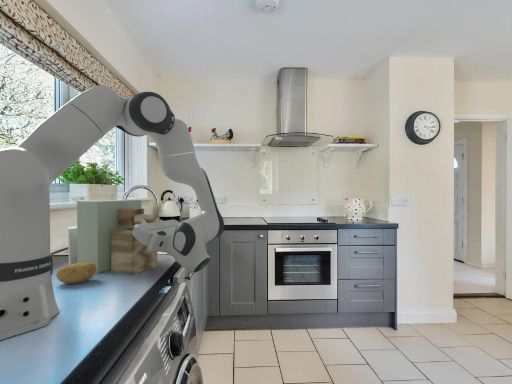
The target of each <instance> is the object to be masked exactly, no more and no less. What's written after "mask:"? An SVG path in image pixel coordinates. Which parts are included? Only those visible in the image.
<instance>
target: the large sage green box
mask: <svg viewBox="0 0 512 384" xmlns="http://www.w3.org/2000/svg"><path fill="white" fill-rule="evenodd" d="M142 202H143V201H142V199H107V200H103V199H101V200H78V201H76V226H77V263H89V262H90V263H94V264H95V266H96V274H99V273H104V272H106V271H110V270H111V231H112V230H120V229H127V228H134V227H135V225H132V226H129V225H118V209H128V208H138V209H143V208H142V206H143V205H142Z"/></svg>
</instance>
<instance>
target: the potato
mask: <svg viewBox="0 0 512 384" xmlns="http://www.w3.org/2000/svg"><path fill="white" fill-rule="evenodd" d="M96 274H97V273H96V266H95V264H94V263H90V262H89V263H76V264H72V265H69V264H68V265H64V266H62V267H61V268H59V269H58V270H57V271H56V274H55V275H56V278H57V279H58V280H59V281H60V282H61V283H63V284H69V285H70V284H71V285H72V284H79V283H82V282H86V281H89V280H91V279H92V278H93V277H94V276H95V275H96Z"/></svg>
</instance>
